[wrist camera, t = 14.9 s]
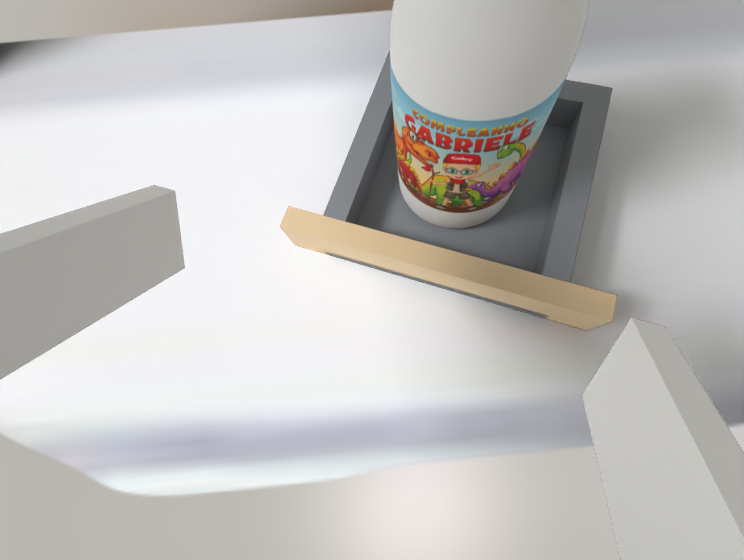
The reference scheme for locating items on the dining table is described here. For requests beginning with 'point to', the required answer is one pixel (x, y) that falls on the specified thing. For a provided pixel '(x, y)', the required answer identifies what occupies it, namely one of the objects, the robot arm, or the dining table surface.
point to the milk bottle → (474, 97)
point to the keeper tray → (480, 242)
